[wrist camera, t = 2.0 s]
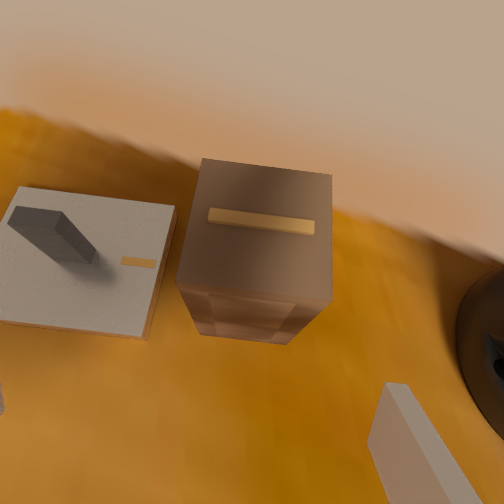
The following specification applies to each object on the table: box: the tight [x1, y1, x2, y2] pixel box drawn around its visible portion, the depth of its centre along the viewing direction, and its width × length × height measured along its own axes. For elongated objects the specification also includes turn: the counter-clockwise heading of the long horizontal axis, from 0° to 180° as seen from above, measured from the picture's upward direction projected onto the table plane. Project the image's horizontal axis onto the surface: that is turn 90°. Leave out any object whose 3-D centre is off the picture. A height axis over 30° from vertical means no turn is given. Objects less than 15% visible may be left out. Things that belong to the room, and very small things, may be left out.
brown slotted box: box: [175, 158, 332, 345], centre depth 18 cm, size 6×6×11 cm
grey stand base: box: [0, 186, 177, 341], centre depth 20 cm, size 12×10×6 cm
